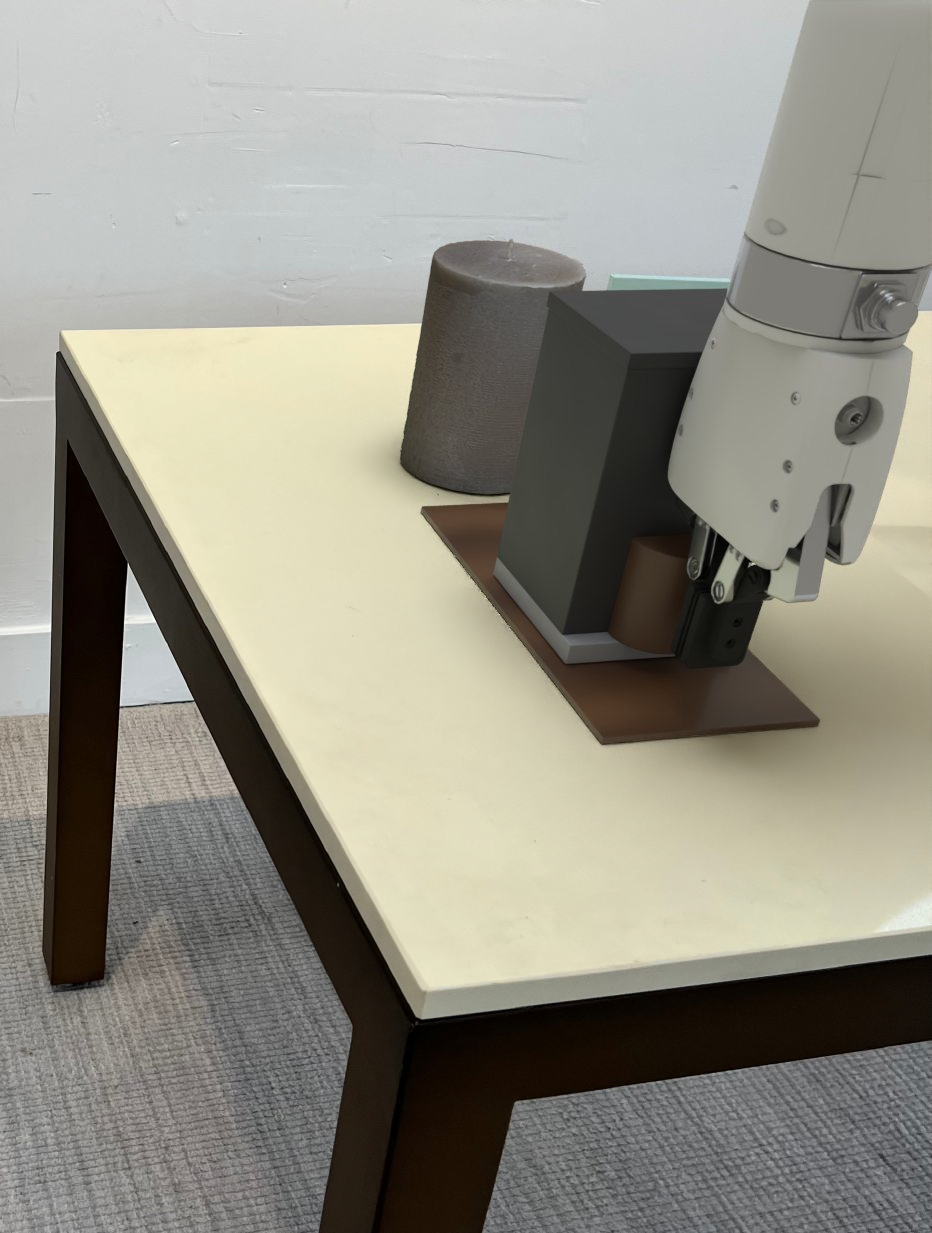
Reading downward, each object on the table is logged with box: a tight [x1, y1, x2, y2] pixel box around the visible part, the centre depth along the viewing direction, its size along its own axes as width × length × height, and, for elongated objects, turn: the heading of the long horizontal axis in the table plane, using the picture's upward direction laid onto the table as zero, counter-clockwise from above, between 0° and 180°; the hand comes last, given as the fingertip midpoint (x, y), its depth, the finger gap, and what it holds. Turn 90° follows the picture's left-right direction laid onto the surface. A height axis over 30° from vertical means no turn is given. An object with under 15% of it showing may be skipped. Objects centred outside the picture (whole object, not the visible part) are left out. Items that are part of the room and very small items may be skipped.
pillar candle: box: [399, 238, 587, 495], centre depth 91 cm, size 10×10×15 cm
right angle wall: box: [606, 273, 731, 290], centre depth 106 cm, size 12×12×8 cm
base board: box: [420, 501, 821, 745], centre depth 80 cm, size 26×12×1 cm, turn 11°
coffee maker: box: [494, 288, 753, 664], centre depth 73 cm, size 12×10×16 cm
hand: (705, 658), depth 70 cm, fingers closed
